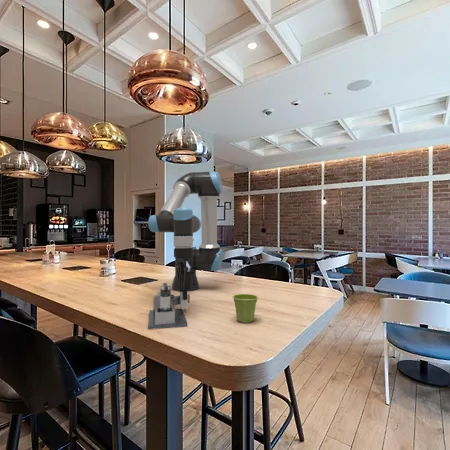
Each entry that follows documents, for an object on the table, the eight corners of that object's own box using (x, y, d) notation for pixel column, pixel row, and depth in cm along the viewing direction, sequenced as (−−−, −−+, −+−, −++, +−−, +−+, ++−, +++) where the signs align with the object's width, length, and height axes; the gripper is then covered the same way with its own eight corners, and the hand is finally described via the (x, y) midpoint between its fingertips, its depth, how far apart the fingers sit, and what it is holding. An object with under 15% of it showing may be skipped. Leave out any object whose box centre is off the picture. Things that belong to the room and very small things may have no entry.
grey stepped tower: (169, 317, 101) (170, 282, 101) (170, 323, 96) (171, 286, 95) (159, 318, 100) (160, 283, 100) (159, 324, 95) (161, 287, 94)
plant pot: (231, 316, 107) (231, 293, 107) (255, 316, 108) (255, 293, 108) (234, 324, 98) (234, 300, 98) (260, 324, 99) (260, 299, 99)
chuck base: (182, 310, 114) (182, 298, 114) (187, 326, 96) (187, 311, 96) (149, 312, 111) (149, 300, 111) (148, 329, 93) (148, 314, 93)
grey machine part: (184, 305, 118) (184, 279, 118) (194, 309, 111) (194, 282, 112) (149, 311, 109) (150, 283, 109) (158, 316, 102) (158, 286, 102)
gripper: (198, 247, 106) (199, 310, 105) (187, 246, 118) (187, 303, 117) (179, 248, 103) (179, 313, 102) (169, 247, 114) (169, 305, 113)
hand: (183, 307), depth 109 cm, fingers closed
